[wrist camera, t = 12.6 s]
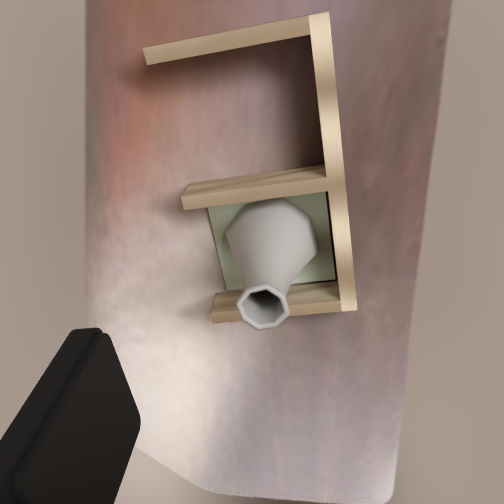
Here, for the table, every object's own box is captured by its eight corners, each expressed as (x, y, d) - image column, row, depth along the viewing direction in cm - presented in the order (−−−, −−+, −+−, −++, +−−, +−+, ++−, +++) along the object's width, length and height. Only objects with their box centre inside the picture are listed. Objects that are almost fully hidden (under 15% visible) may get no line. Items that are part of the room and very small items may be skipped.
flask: (261, 292, 41) (249, 371, 32) (209, 227, 38) (180, 293, 29) (335, 250, 38) (344, 324, 29) (284, 178, 36) (277, 234, 27)
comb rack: (155, 45, 33) (142, 48, 30) (326, 11, 31) (329, 11, 28) (218, 303, 42) (212, 323, 39) (353, 289, 40) (357, 309, 37)
